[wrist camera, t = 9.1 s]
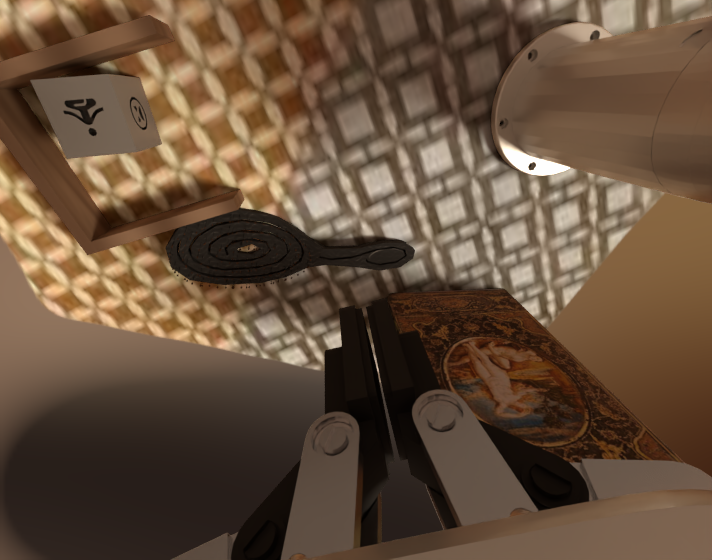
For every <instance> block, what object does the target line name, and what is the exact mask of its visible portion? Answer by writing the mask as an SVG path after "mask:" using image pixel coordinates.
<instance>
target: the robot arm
mask: <svg viewBox="0 0 712 560" xmlns="http://www.w3.org/2000/svg"><path fill="white" fill-rule="evenodd" d="M528 54H529V58H528ZM500 121H501V125H500V126H499V124H500ZM491 130H492V135H493V141H494V143H495V146H496V148H497V151H498V152H499V154H500V155H501V157H502V158H503V160H504V161H505V162H506V163H508V164H509V165H510V166H511V167H512V168H514V169H516V170H518V171H520V172H523V173H526V174H529V175H536V176H546V175H553V174H556V173H560V172H563V171H565V170H567V169H569V168H573V169H577V170H581V171H585V172H588V173H592V174H596V175H600V176H604V177H607V178H611V179H615V180H619V181H623V182H626V183H630V184H634V185H638V186H642V187H645V188H649V189H653V190H657V191H661V192H664V193H668V194H672V195H676V196H680V197H685V198H689V199H693V200H696V201H700V202H706V203H711V204H712V16H709V17H704V18H699V19H694V20H690V21H685V22H680V23H675V24H670V25H665V26H660V27H655V28H650V29H645V30H641V31H636V32H631V33H626V34H621V35H616V36H613V35H612V34H611V33H610V32H608V31H607V30H606V29H604V28H603V27H601V26H598V25H595V24H593V23H587V22H575V23H569V24H564V25H561V26H558V27H555V28H552V29H550V30H548V31H546V32H544V33H542V34H540V35H538V36H537V37H536V38H534V39H533V40H532V41H531V42H529V43H528V44H527V45H526V46H525V47H524V48H523V49H522V50H521V51H520V52H519V53H518V54H517V55H516V56H515V58H514V59H513V60H512V62H511V63H510V65H509V66H508V68H507V69H506V71H505V73H504V75H503V77H502V79H501V81H500V83H499V85H498V88H497V91H496V94H495V97H494V100H493V106H492V113H491ZM528 165H529V166H528ZM371 303H372V306H368V307H366V309H367V314H368V319H369V324H370V329H371V333H372V338H373V343H374V348H375V353H376V358H377V363H378V368H379V373H380V378H381V383H382V387H383V392H384V397H385V401H386V405H387V409H388V413H389V417H390V421H391V425H392V429H393V433H394V437H395V441H396V445H397V449H398V453H399V457H400V460H405V459H408V463H409V467H410V472H411V475H413V476H414V477H416V478H417V479H419V480H421V481H422V482H424V483H425V484H426V487H427V490H428V493H429V495H430V498H431V500H432V502H433V505H434V507H435V509H436V512H437V514H438V517H439V519H440V521H441V524H442V526H443V529H444V530H443V531H438V532H433V533H428V534H423V535H419V536H413V537H409V538H404V539H399V540H394V541H389V542H384V543H382V535H381V534H382V530H381V529H382V528H381V527H382V524H381V523H382V520H381V519H382V517H381V493H380V492H381V490H382V489H383V487H384V486H385V484H386V483H387V481H388V480H389V477H388V475H390V472H389V466H388V463H391V462H394V455H393V450H392V445H391V440H390V435H389V429H388V425H387V419H386V414H385V409H384V404H383V399H382V394H381V388H380V383H379V378H378V373H377V368H376V364H375V360H374V356H373V352H372V348H371V344H370V340H369V336H368V332H367V328H366V324H365V320H364V316H363V312H362V308H359V309H356V308H355V305H354V306H349V307H345V308H341V309H339V313H340V326H341V340H342V347H338V348H334V349H329V350H325V415H323V416H322V417H320V418H319V419H318V420H316V421H315V422H314V423H313V424H312V426H311V427H310V428H309V430H308V433H307V436H306V439H305V444H304V448H303V453H302V458H301V460H300V461H299V462H298V463H297V464H296V465H295V466H294V467H293V469H292V470H291V471H290V472H289V473H288V474H287V475H286V477H285V478H284V479H283V480H282V481H281V482H280V484H278V486H277V487H276V488H275V489H274V490H273V491H272V492H271V494H270V495H269V496H268V497H267V498H266V499H265V500H264V502H263V503H262V504H261V505H260V506H259V507H258V508H257V509H256V511H255V512H254V513H253V514H252V515H251V516H250V517H249V518H248V520H247V521H246V522H245V523H244V525H243V526H242V528H241V529H240V530H239V532H238V533H236V534H234V535H232V536H230V535H229V534H228V533H226V534H224V535H222V536H220V537H218V538H216V539H213V540H211V541H209V542H207V543H205V544H203V545H201V546H199V547H197V548H195V549H192V550H190V551H188V552H186V553H184V554H182V555H180V556H178V557H176V558H173V559H171V560H712V477H710V476H708V475H707V474H706V473H704V472H703V471H701V470H700V469H697V468H695V467H693V466H690V465H688V464H685V463H681V462H675V461H658V460H617V459H581V462H580V463H571V462H568V461H566V460H564V459H563V458H561V457H559V456H557V455H555V454H553V453H551V452H549V451H546V450H544V449H542V448H540V447H538V446H536V445H533V444H531V443H529V442H527V441H525V440H522V439H520V438H518V437H516V436H514V435H512V434H509V433H507V432H505V431H503V430H501V429H499V428H496V427H494V426H492V425H490V424H488V423H486V422H483V421H481V420H479V419H477V418H476V417H475V415H474V414H473V412H472V411H471V409H470V408H469V406H468V405H467V403H466V402H465V401H464V400H463V399H462V398H461V397H460V396H458V395H457V394H455V393H454V392H450V391H447V390H441V387H440V385H439V382H438V380H437V377H436V375H435V372H434V370H433V367H432V365H431V362H430V360H429V357H428V355H427V352H426V350H425V347H424V345H423V342H422V340H421V337H420V335H419V332H418V331H417V330H414V331H410V332H405V333H401V334H397V331H396V328H395V324H394V321H393V318H392V315H391V311H390V308H389V305H388V302H387V299H386V298H384V299H380V300H376V301H371Z"/></svg>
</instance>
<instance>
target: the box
mask: <svg viewBox="0 0 712 560" xmlns="http://www.w3.org/2000/svg"><path fill="white" fill-rule="evenodd" d="M172 41H175V40H174V38H173V35H172V33H171V31H170V28H169V26H168V25H167V24H165V23H163V22H161V21H159V20H157V19H155V18H154V17H152V16H150V15H148V16H145V17H142V18H139V19H135V20H132V21H129V22H126V23H123V24H119V25H116V26H113V27H110V28H107V29H103V30H100V31H97V32H94V33H90V34H87V35H84V36H81V37H78V38H74V39H71V40H68V41H65V42H62V43H58V44H55V45H52V46H49V47H45V48H42V49H39V50H36V51H33V52H29V53H26V54H23V55H20V56H17V57H13V58H10V59H7V60H4V61H1V62H0V139H1V140H2V141H3V143H4V144H5V145H6V147H7V148H8V149H9V151H10V152H11V153H12V155H13V156H14V157H15V159H16V160H17V161H18V163H19V164H20V165H21V167H22V168H23V169H24V171H25V172H26V173H27V175H28V176H29V177H30V179H31V180H32V181H33V183H34V184H35V185H36V187H37V188H38V189H39V191H40V192H41V193H42V195H43V196H44V197H45V199H46V200H47V201H48V203H49V204H50V205H51V207H52V208H53V209H54V211H55V212H56V213H57V215H58V216H59V217H60V219H61V220H62V221H63V223H64V224H65V226H66V227H67V228H68V230H69V231H70V232H71V234H72V235H73V236H74V238H75V239H76V240H77V242H78V243H79V244H80V246H81V247H82V248H83V250H84V251H85V252H86V254H87V255H89V254H93V253H96V252H99V251H102V250H106V249H109V248H112V247H116V246H119V245H122V244H126V243H129V242H132V241H136V240H139V239H142V238H146V237H149V236H152V235H156V234H159V233H162V232H166V231H169V230H172V229H175V228H179V227H182V226H185V225H189V224H192V223H195V222H199V221H202V220H205V219H209V218H212V217H215V216H219V215H222V214H225V213H229V212H232V211H235V210H238V209H239V207H240V206H241V204H242V203H243V201H244V197H243V194H242V192H241V190H240V189H239V190H236V191H233V192H229V193H226V194H223V195H219V196H216V197H213V198H210V199H206V200H203V201H200V202H196V203H193V204H190V205H186V206H183V207H180V208H176V209H173V210H170V211H167V212H163V213H160V214H157V215H153V216H150V217H147V218H143V219H140V220H137V221H133V222H130V223H127V224H124V225H120V226H117V227H114V228H111V227H110V225H109V224H108V222H107V221H106V219H105V218H104V216H103V215H102V213H101V212H100V210H99V209H98V207H97V206H96V205H95V203H94V202H93V200H92V199H91V197H90V196H89V194H88V193H87V191H86V190H85V188H84V187H83V185H82V184H81V182H80V181H79V179H78V178H77V176H76V175H75V173H74V172H73V170H72V169H71V168H70V166H69V165H68V163H67V162H66V160H65V159H64V157H63V156H62V154H61V153H60V151H59V150H58V148H57V147H56V145H55V144H54V142H53V141H52V139H51V138H50V136H49V135H48V133H47V132H46V131H45V129H44V128H43V126H42V125H41V123H40V122H39V120H38V119H37V117H36V116H35V114H34V113H33V111H32V110H31V108H30V107H29V105H28V104H27V102H26V101H25V99H24V98H23V97H22V95H21V94H20V92H19V91H18V89H20V88H24V87H27V86H30V85H32V83H31V81H30V80H37V79H50V78H56V77H59V76H62V75H66V74H69V73H72V72H75V71H78V70H82V69H85V68H88V67H91V66H95V65H98V64H101V63H104V62H108V61H111V60H114V59H117V58H120V57H124V56H127V55H130V54H133V53H137V52H140V51H143V50H146V49H149V48H153V47H156V46H159V45H162V44H166V43H169V42H172Z"/></svg>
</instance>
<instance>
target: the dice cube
mask: <svg viewBox="0 0 712 560" xmlns="http://www.w3.org/2000/svg"><path fill="white" fill-rule="evenodd" d="M30 81H31V83H32V85H33V88H34V90H35V92H36V94H37V96H38V98H39V100H40V102H41V104H42V107H43V109H44V111H45V113H46V115H47V117H48V119H49V121H50V123H51V126H52V128H53V130H54V132H55V134H56V136H57V138H58V140H59V142H60V145H61V147H62V149H63V151H64V153H65V155H66V157H67V159H68V158H79V157H89V156H100V155H110V154H121V153H131V152H139V151H142V150H145V149H148V148H151V147H155V146H158V145H161V144H162V142H161V139H160V136H159V133H158V130H157V127H156V124H155V121H154V118H153V115H152V112H151V109H150V106H149V103H148V100H147V98H146V95H145V92H144V89H143V86H142V83H141V80H140V78H137V77H129V76H121V75H113V74H101V75H88V76H76V77H63V78H50V79H37V80H30Z"/></svg>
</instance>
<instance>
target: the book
mask: <svg viewBox="0 0 712 560" xmlns="http://www.w3.org/2000/svg"><path fill="white" fill-rule="evenodd" d="M388 304H389V307H390V310H391V312H392V315H393V317H394V320H393V321H394V324H395V328H396V331H397V334H401V333H405V332H410V331H414V330H417V331H418V332H419V335H420V337H421V340H422V342H423V345H424V347H425V350H426V352H427V355H428V357H429V360H430V362H431V365H432V367H433V370H434V372H435V375H436V377H437V380H438V382H439V385H440V387H441V390H447V391H450V392H454V393H455V394H457V395H458V396H460V397H461V398H462V399H463V400H464V401H465V402H466V403H467V405H468V406H469V408H470V409H471V411H472V412H473V414H474V415H475V417H476V418H477V419H479V420H481V421H483V422H486V423H488V424H490V425H492V426H494V427H496V428H499V429H501V430H503V431H505V432H507V433H509V434H512V435H514V436H516V437H518V438H520V439H522V440H525V441H527V442H529V443H531V444H533V445H536V446H538V447H540V448H542V449H544V450H546V451H549V452H551V453H553V454H555V455H557V456H559V457H561V458H563V459H564V460H566V461H568V462H571V463H580V462H581V459H617V460H658V461H675V462H681V463H684V462H683V461H682V460H681V459H680V458H679V457H678V456H677V455H676V454H675V453H674V452H673V451H672V450H671V449H670V448H669V447H668V446H667V445H666V444H665V443H664V442H663V441H661V440H660V439H659V438H658V437H657V436H656V435H655V434H654V433H653V432H652V431H651V430H650V429H649V428H648V427H647V426H646V425H645V424H644V423H643V422H642V421H641V420H640V419H639V418H638V417H637V416H635V414H634V413H633V412H631V411H630V410H629V409H628V408H627V407H626V406H625V405H624V404H623V403H622V402H621V401H620V400H619V399H618V398H617V397H616V396H615V395H614V394H613V393H612V392H611V391H610V390H608V388H607V387H606V386H605V385H604V384H602V383H601V382H600V381H599V380H598V379H597V378H596V377H595V376H594V375H593V374H592V373H591V372H590V371H589V370H588V369H587V368H586V367H585V366H584V365H583V364H582V363H581V362H580V361H578V359H577V358H575V357H574V356H573V355H572V354H571V353H570V352H569V351H568V350H567V349H566V348H565V347H564V346H563V345H562V344H561V343H560V342H559V341H558V340H557V339H556V338H555V337H554V336H553V335H552V334H551V333H550V332H549V331H548V330H547V329H546V328H545V327H543V326H542V325H541V324H540V323H539V322H538V321H537V320H536V319H535V318H534V317H533V316H532V315H531V314H530V313H529V312H528V311H527V310H526V309H525V308H524V307H523V306H522V305H521V304H520V303H519V302H518V301H517V300H516V299H514V298H513V297H512V296H511V295H510V294H509V293H508V292H507V291H506V290H505V289H485V290H455V291H426V292H405V293H392V294H389V296H388Z"/></svg>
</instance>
